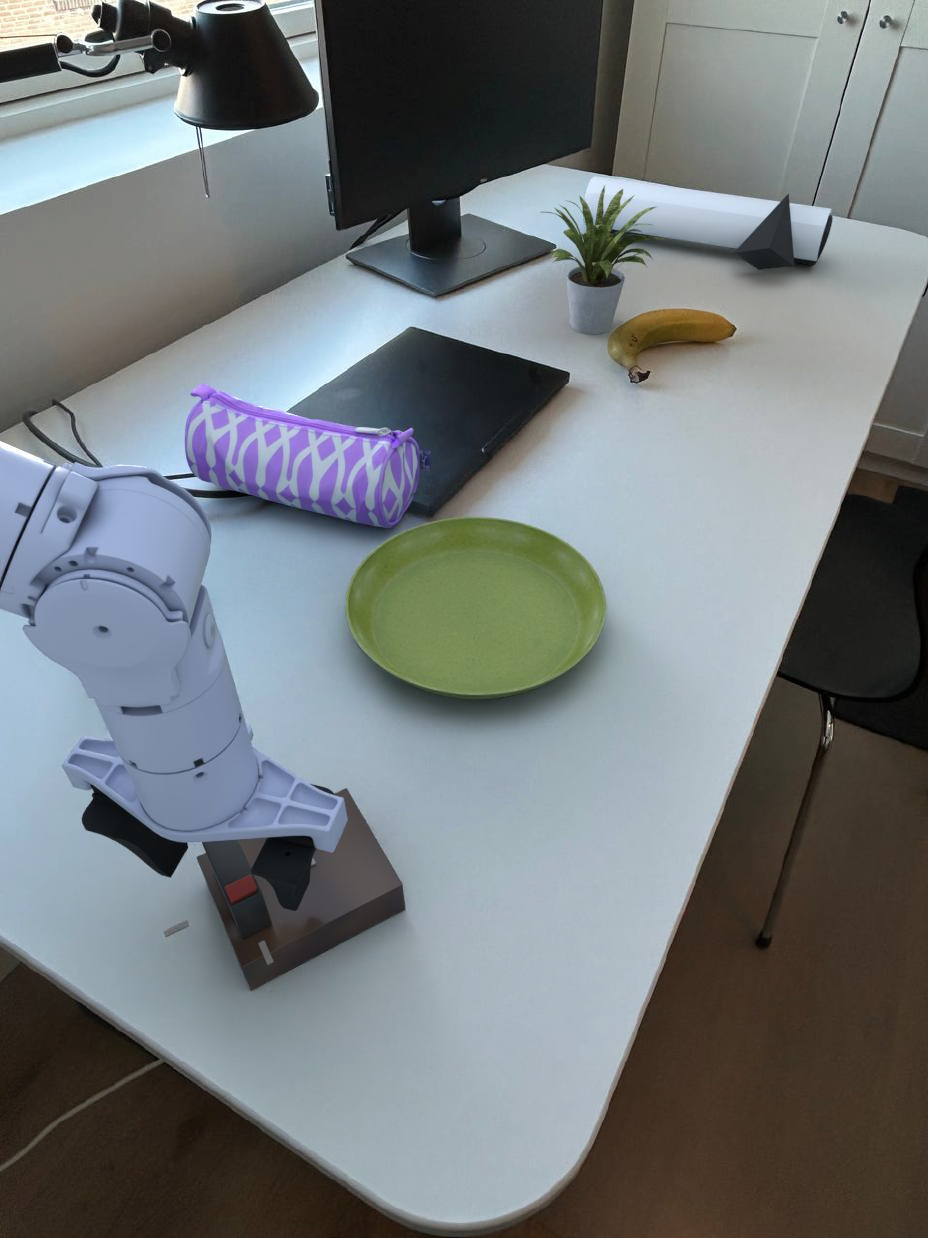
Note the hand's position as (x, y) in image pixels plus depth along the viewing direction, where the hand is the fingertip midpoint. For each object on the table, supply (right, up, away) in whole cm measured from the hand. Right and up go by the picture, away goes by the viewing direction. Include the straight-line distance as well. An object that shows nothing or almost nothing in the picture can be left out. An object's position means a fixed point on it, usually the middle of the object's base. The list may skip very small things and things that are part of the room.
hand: (235, 877), depth 50 cm
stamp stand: (+2, -3, +4) cm, 6 cm away
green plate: (+14, +14, +22) cm, 30 cm away
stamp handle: (0, -2, +1) cm, 2 cm away
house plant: (+28, +51, +61) cm, 84 cm away
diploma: (+46, +67, +77) cm, 112 cm away
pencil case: (-2, +26, +35) cm, 44 cm away
